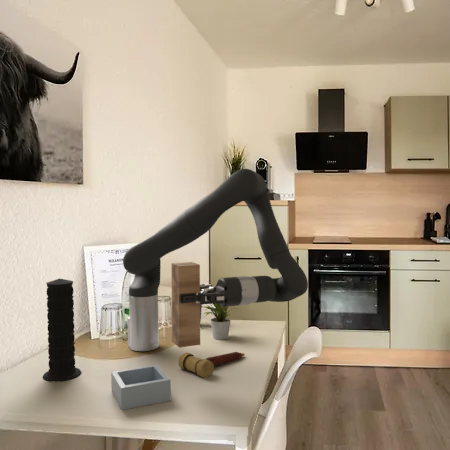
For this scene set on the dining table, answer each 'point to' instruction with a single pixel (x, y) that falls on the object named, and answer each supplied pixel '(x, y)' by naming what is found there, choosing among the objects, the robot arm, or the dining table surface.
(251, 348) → the dining table surface
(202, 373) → the gavel
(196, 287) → the walnut handle block
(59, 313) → the handle grip
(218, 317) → the house plant
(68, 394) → the dining table surface
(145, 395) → the box
